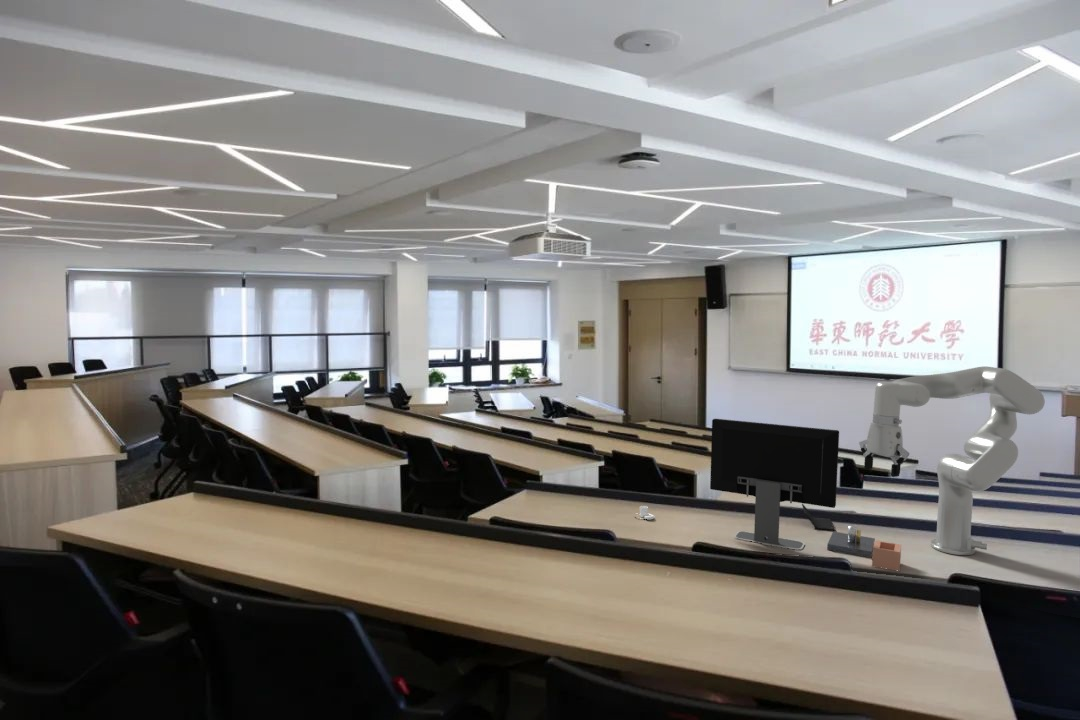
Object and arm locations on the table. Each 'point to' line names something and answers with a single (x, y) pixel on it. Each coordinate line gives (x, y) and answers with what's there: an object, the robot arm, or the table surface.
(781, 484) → the computer monitor
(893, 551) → the pink storage bin
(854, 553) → the base plate
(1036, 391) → the robot arm
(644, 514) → the teacup and saucer
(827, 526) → the handheld gaming console
